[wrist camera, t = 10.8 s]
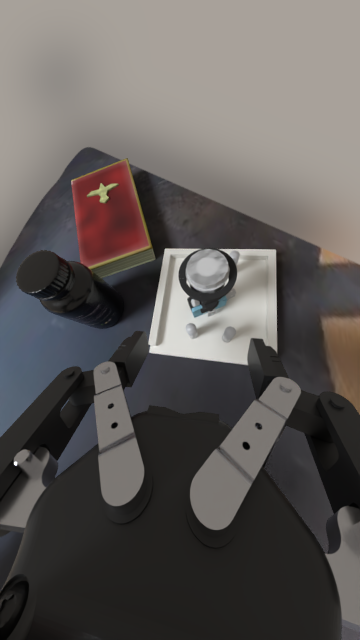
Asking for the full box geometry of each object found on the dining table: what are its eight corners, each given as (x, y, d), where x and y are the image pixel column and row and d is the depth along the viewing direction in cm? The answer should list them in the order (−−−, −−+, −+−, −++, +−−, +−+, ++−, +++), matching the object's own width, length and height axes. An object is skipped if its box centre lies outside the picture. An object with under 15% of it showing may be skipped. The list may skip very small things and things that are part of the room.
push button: (226, 280, 25) (237, 226, 16) (242, 312, 23) (266, 274, 14) (183, 297, 25) (168, 254, 16) (196, 330, 24) (189, 304, 14)
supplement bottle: (80, 304, 29) (-1, 263, 18) (114, 283, 29) (55, 228, 18) (95, 338, 27) (14, 316, 16) (132, 314, 27) (78, 275, 16)
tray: (152, 353, 25) (138, 349, 20) (168, 257, 29) (159, 234, 24) (270, 368, 22) (288, 367, 17) (270, 259, 26) (285, 233, 21)
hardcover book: (95, 284, 31) (77, 271, 27) (83, 200, 37) (67, 179, 33) (159, 262, 30) (151, 245, 26) (135, 179, 36) (126, 156, 32)
